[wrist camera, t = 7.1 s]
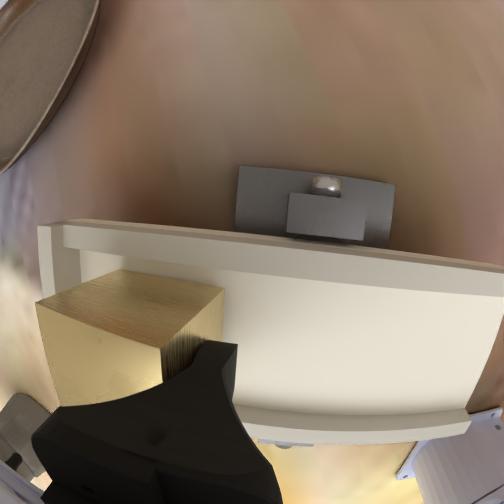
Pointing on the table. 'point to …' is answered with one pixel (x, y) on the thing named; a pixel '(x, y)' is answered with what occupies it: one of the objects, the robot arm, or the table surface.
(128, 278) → the brass block
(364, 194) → the pivot stand
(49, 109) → the plant saucer
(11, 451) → the coffeepot
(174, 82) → the table surface
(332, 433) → the beam
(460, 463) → the robot arm
